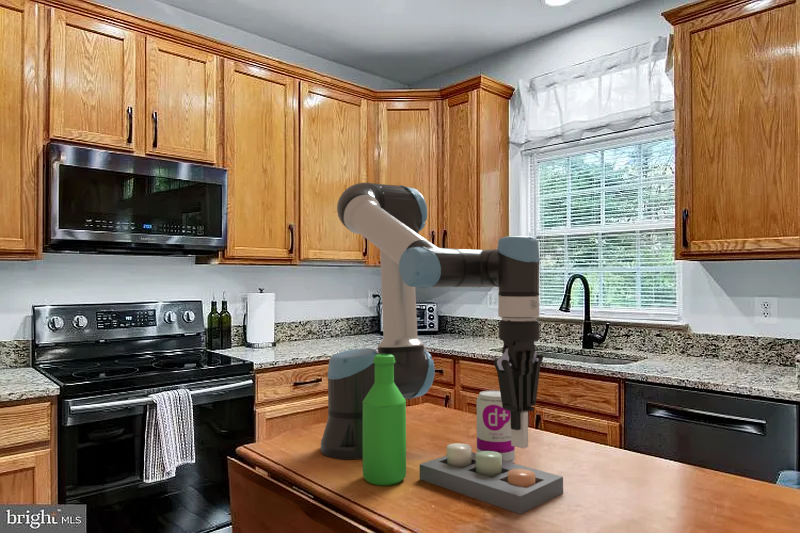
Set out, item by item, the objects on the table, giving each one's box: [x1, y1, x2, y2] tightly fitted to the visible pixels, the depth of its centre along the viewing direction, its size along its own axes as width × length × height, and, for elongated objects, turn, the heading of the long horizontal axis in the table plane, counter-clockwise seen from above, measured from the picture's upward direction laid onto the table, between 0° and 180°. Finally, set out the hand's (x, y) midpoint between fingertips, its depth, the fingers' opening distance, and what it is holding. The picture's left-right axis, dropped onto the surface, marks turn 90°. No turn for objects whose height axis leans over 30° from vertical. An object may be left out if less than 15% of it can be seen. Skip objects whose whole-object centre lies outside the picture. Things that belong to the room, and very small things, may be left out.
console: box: [419, 451, 564, 515], centre depth 110 cm, size 24×14×3 cm, turn 44°
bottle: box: [362, 354, 407, 486], centre depth 114 cm, size 9×9×25 cm
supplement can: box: [476, 390, 516, 463], centre depth 124 cm, size 8×8×15 cm
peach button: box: [508, 469, 535, 488], centre depth 104 cm, size 5×5×4 cm
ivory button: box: [446, 442, 473, 468], centre depth 115 cm, size 5×5×4 cm
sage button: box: [475, 451, 502, 477], centre depth 110 cm, size 5×5×4 cm
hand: (519, 446), depth 105 cm, fingers closed
